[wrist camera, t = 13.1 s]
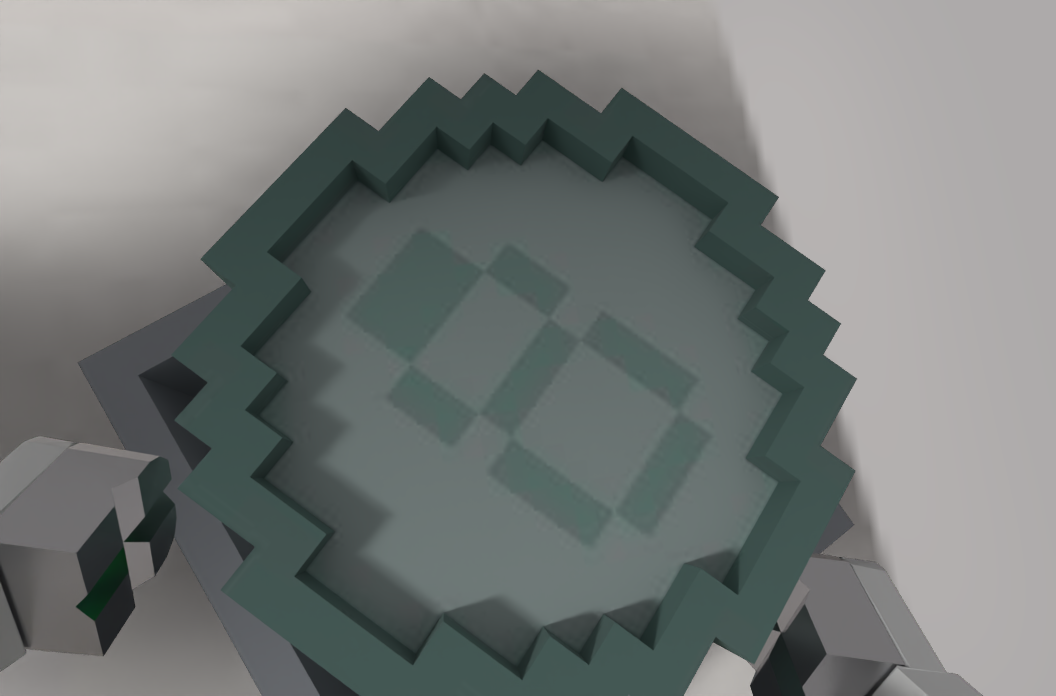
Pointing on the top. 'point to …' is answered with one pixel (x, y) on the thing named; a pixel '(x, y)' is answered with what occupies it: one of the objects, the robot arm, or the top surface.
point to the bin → (208, 544)
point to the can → (515, 400)
